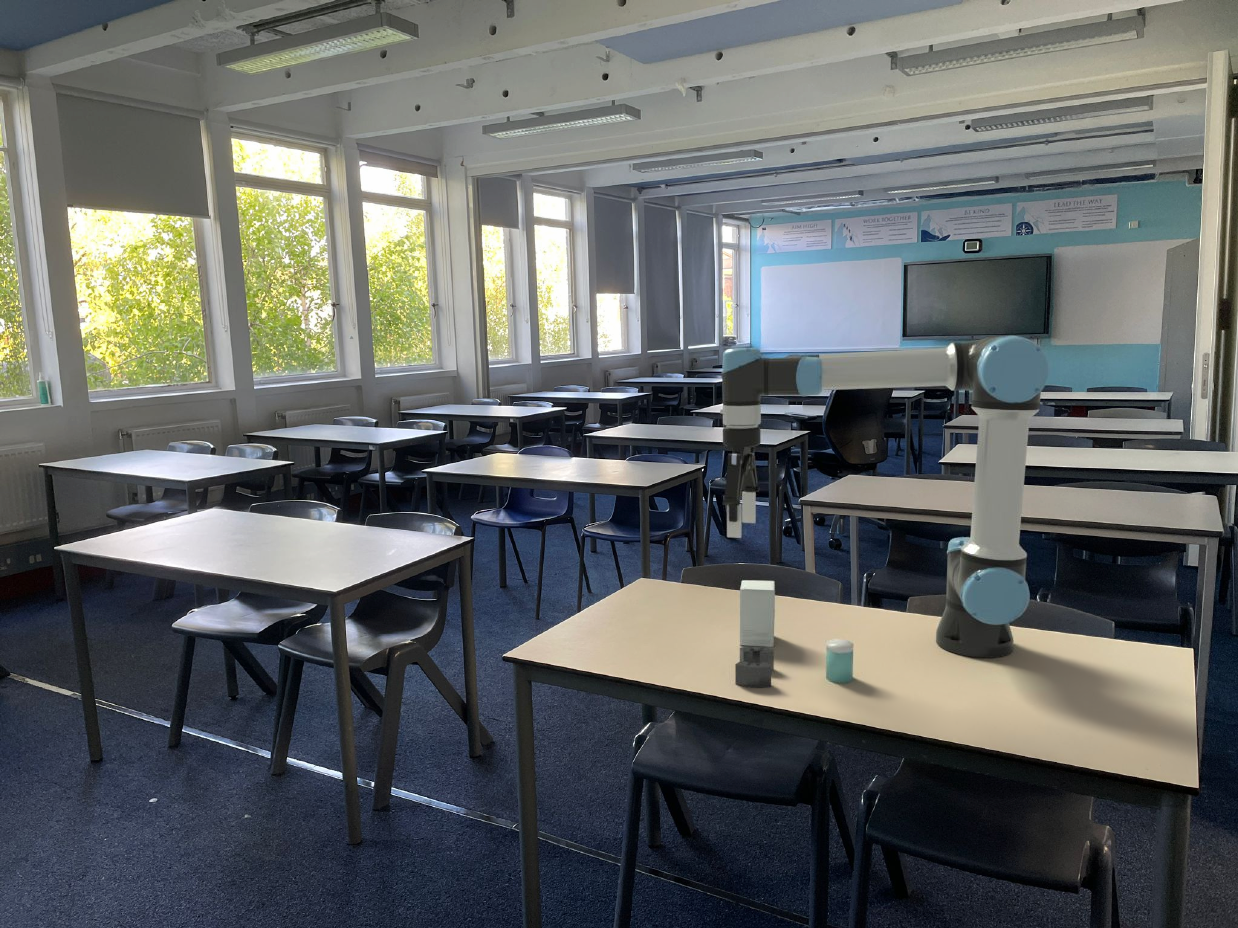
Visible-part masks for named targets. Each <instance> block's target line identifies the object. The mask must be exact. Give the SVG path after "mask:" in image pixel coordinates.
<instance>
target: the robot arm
mask: <svg viewBox="0 0 1238 928" xmlns="http://www.w3.org/2000/svg"><path fill="white" fill-rule="evenodd" d="M1049 376H1050V363H1049V359H1048V357H1047V354H1046V353H1045V351H1044V350H1043V348H1041V347H1040V346H1039V345H1038V344H1037V343H1035V342H1034V341H1033V340H1031V339H1029V338H1026V337H1024V336H1021V335H1014V334H1013V335H996V336H990V337H986V338H985V337H984V338H981V339H977V340H970V341H963V342H962V341H961V342H951V343H949V345H948V346H947V347H941V348H924V349H923V348H922V349H920V348H919V349H904V350H903V349H901V350H900V349H899V350H883V351H879V350H878V351H863V352H862V351H861V352H860V351H858V352H842V353H841V352H840V353H818V354H801V355H800V354H789V355H786V356H785V357H762V354H761V350H760V349H759V348H757V347H751V348H750V347H749V348H744V347H743V348H741V347H739V348H737V347H735V348H728V349H725V350H724V352H723V354H722V371H721V377H722V378H721V381H722V382H721V383H722V385H721V386H722V387H721V388H722V408H721V409H720V411H719V413H720V414H722V424H723V425H725V426H724V427H723V428H722V445H723V446H725V447H729V448H730V447H731V448H732V453H728V455H727V470H726V478H725V479H726V480H725V489H724V498H723V500H722V505H724V506H726V537H727V538H734V539H735V538H738V539H741V538H742V523H743V524H744V523H745V524H756V520H757V519H756V517H757V516H756V513H757V511H756V509H757V507H756V505H757V504H756V496H757V494H756V492H760V486H758V485H759V482H758V473H757V466H756V456H755V450H756V449H755V447H757V446H759V445H760V444H761V437H762V436H761V433H762V432H761V427H760V426H759V425H761V424H762V417H761V415H762V413H761V412H762V408H761V407H762V404H761V398H762V397H769V396H772V397H773V396H775V397H776V396H781V397H790V396H791V397H794V396H795V397H804V398H805V397H808V396H819V395H820V394H822V391H833V390H835V391H836V390H858V389H859V390H860V389H863V390H866V389H884V388H885V389H889V388H890V389H891V388H892V389H895V388H919V387H920V388H921V387H944V386H945V387H947V388H948V389H949V390H951V391H968V392H972V395H971V397H972V398H971V409H972V410H973V411H974V412H975V413H976V414H977V416H978V418H979V419H978V432H977V445H976V458H975V459H976V460H975V472H974V483H973V485H974V486H973V499H972V510H971V511H972V512H971V513H972V514H971V525H970V537H969V536H966V537H964V536H961V537H954V538H952V539H950V541H949V542H948V545H947V546H948V547H947V551H946V555H947V565H946V566H947V567H946V568H947V570H946V571H947V572H946V596H945V598H946V599H945V601H946V602H945V609H944V611H943V613H942V616H941V618H940V621H939V623H938V625H937V629H936V632H935V643H936V644H937V645H938V646H939V647H940V648H941V649H943V650H946V651H948V652H950V653H953V654H957V655H961V656H967V657H975V658H999V657H1005V656H1007V655H1009V654H1011V653H1012V652H1013V651H1014V640H1015V639H1014V636H1013V632H1012V630H1011V626H1010V623H1011V622H1013V621H1015V620H1017V618H1019V617H1021V616H1022V615H1023V614H1024V613H1025V611H1026V610H1027V608H1028V606H1029V603H1030V597H1031V596H1030V590H1029V589H1030V588H1029V587H1030V586H1029V585H1028V582H1027V581H1026V570H1027V569H1026V568H1027V558H1028V553H1027V552H1026V551H1025V550H1024V549H1023V548H1022V546H1021V545H1020V535H1021V534H1020V533H1021V523H1022V508H1023V501H1024V500H1023V498H1024V487H1025V486H1024V485H1025V476H1026V475H1025V474H1026V473H1025V472H1026V462H1027V453H1028V439H1029V430H1030V429H1029V427H1030V421H1031V418H1032V417H1033V416H1034V415H1036V414H1037V413H1038V412H1039V411H1040V403H1041V397H1042V396H1041V394H1042V391H1043V390H1044V387H1045V386H1046V384H1047V382H1048V380H1049Z"/></svg>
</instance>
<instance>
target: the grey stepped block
mask: <svg viewBox="0 0 1238 928" xmlns="http://www.w3.org/2000/svg"><path fill="white" fill-rule="evenodd" d="M774 652H775V650H774V649H772V648H769V647H764V646H744V647H743V646H742V647H739V662H737V663H735V664H734V665H735V666H734V667H735V672H734V673H735V685H737V686H738V685H739V686H742V687H745V688H757V689H762V688H770V687H772V671H773V670H774V669H775V667H774V666H775V664H774V663H775V658H774V657H775V653H774Z"/></svg>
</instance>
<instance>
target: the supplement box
mask: <svg viewBox="0 0 1238 928" xmlns="http://www.w3.org/2000/svg"><path fill="white" fill-rule="evenodd" d="M775 584H776V583H775V581H774V580H752V579H751V580H741V585H740V588H739V589H740V590H739V592H740V593H739V645H740V646H745V647H764V648H773V647H774V643H775V615H776V614H775V612H776V610H775V609H776V608H775V607H776V606H775V605H776V589H775V588H776V585H775Z"/></svg>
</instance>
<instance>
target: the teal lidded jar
mask: <svg viewBox="0 0 1238 928" xmlns="http://www.w3.org/2000/svg"><path fill="white" fill-rule="evenodd" d="M825 654H826V659H825V660H826V661H825V665H826V666H825V679H826V680H827V681H828V682H830V683H835V684H848V683H851V682H852V681H853V680H854V676H853V675H854V643H853V642H852V641H850V640H847V639H839V638H834V639H829V640H827V641H826V653H825Z"/></svg>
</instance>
